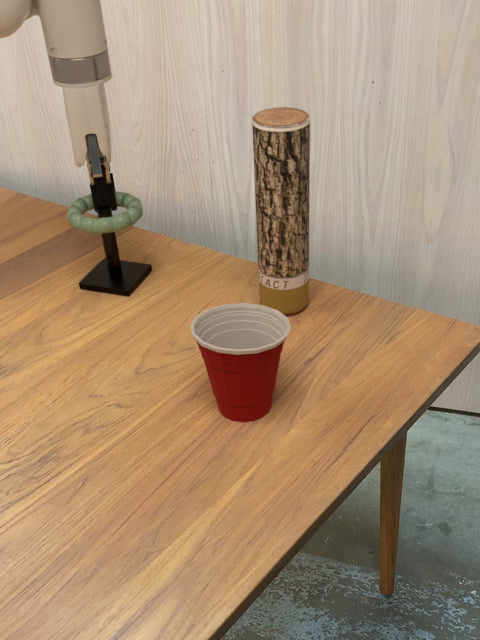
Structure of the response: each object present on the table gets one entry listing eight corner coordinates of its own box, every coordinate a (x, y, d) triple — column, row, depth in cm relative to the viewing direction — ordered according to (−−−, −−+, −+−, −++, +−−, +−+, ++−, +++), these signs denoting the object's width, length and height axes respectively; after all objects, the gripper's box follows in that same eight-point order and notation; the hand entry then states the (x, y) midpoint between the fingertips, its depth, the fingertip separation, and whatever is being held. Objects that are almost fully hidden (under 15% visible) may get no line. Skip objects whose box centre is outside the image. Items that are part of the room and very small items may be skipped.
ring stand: (79, 289, 113) (63, 216, 106) (105, 263, 119) (91, 193, 111) (129, 296, 111) (116, 223, 104) (152, 270, 117) (142, 199, 109)
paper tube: (283, 286, 112) (280, 103, 95) (318, 303, 108) (322, 115, 91) (249, 305, 109) (240, 118, 92) (284, 322, 105) (281, 131, 88)
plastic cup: (306, 395, 93) (306, 307, 85) (268, 450, 86) (265, 360, 78) (225, 375, 97) (218, 289, 88) (183, 426, 90) (171, 337, 81)
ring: (54, 230, 107) (51, 216, 105) (91, 198, 114) (89, 185, 112) (121, 240, 104) (119, 226, 103) (156, 207, 111) (154, 193, 110)
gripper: (53, 52, 105) (80, 186, 117) (48, 88, 93) (79, 233, 106) (109, 47, 105) (130, 181, 118) (111, 83, 94) (134, 228, 106)
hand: (106, 205), depth 112 cm, fingers closed on ring, 2 cm apart
